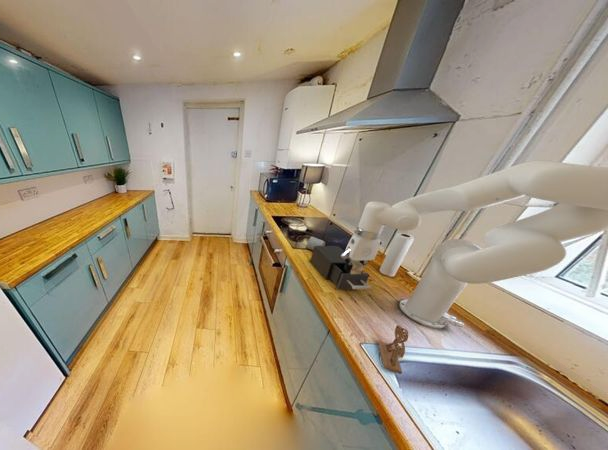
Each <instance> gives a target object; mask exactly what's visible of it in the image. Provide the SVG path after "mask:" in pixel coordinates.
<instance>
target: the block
mask: <svg viewBox="0 0 608 450" xmlns="http://www.w3.org/2000/svg"><path fill="white" fill-rule="evenodd" d="M352 265H353V266H352V268H351V271H350V274H361V272H362V271H364V268H365V266H364V265H363V264H361V263H360V262H359V260H354V262H353V263H352Z"/></svg>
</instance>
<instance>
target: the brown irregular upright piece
mask: <svg viewBox="0 0 608 450" xmlns="http://www.w3.org/2000/svg"><path fill="white" fill-rule="evenodd" d="M408 339H409V330H408V329H407V328H405V327H402V326H401V325H400V324H397V325H396V326H395V328H394V340H393V341H392V342H390V343H387V342H384V341H381V340H378V342H377V344H378V348H379V352H380V356H381V360H382V363H383V367H384V368H385V369H387V370H389V371H392V372H394V373H396V374H398V375H402V374H403V370H402V367H401V364H400V360H399V358H404V356H405V353H406V345H405V343H406V342H407V341H408ZM398 357H399V358H398Z"/></svg>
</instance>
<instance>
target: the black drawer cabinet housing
mask: <svg viewBox="0 0 608 450" xmlns="http://www.w3.org/2000/svg"><path fill="white" fill-rule="evenodd" d="M344 252H345V250H344V249H343V248H341V247H340V246H339V245H325V246H314V250H312V254H311V257H310V261H309V262H310V263H311V264H312V265H313V266H314V267H315V269H316V270H317V271H318V272H319V273H320V274H321V276H322V277H323V278H324V279H325V280H331V279H330V277H329V273H330V270H331V267H332V265H333V264H345V263H346V261H345V260H344V259H343V258H342V257H341V255H342V254H343V253H344ZM349 260H351V258H350V259H349Z"/></svg>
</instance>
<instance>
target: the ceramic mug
mask: <svg viewBox="0 0 608 450" xmlns="http://www.w3.org/2000/svg"><path fill="white" fill-rule="evenodd" d="M314 246H326V241H324V239H323V240H322V239H319V238H317V237H314V236H310V238H309V239H308V241H307V244H306V249H308V250H310V251H313V250H314Z"/></svg>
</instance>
